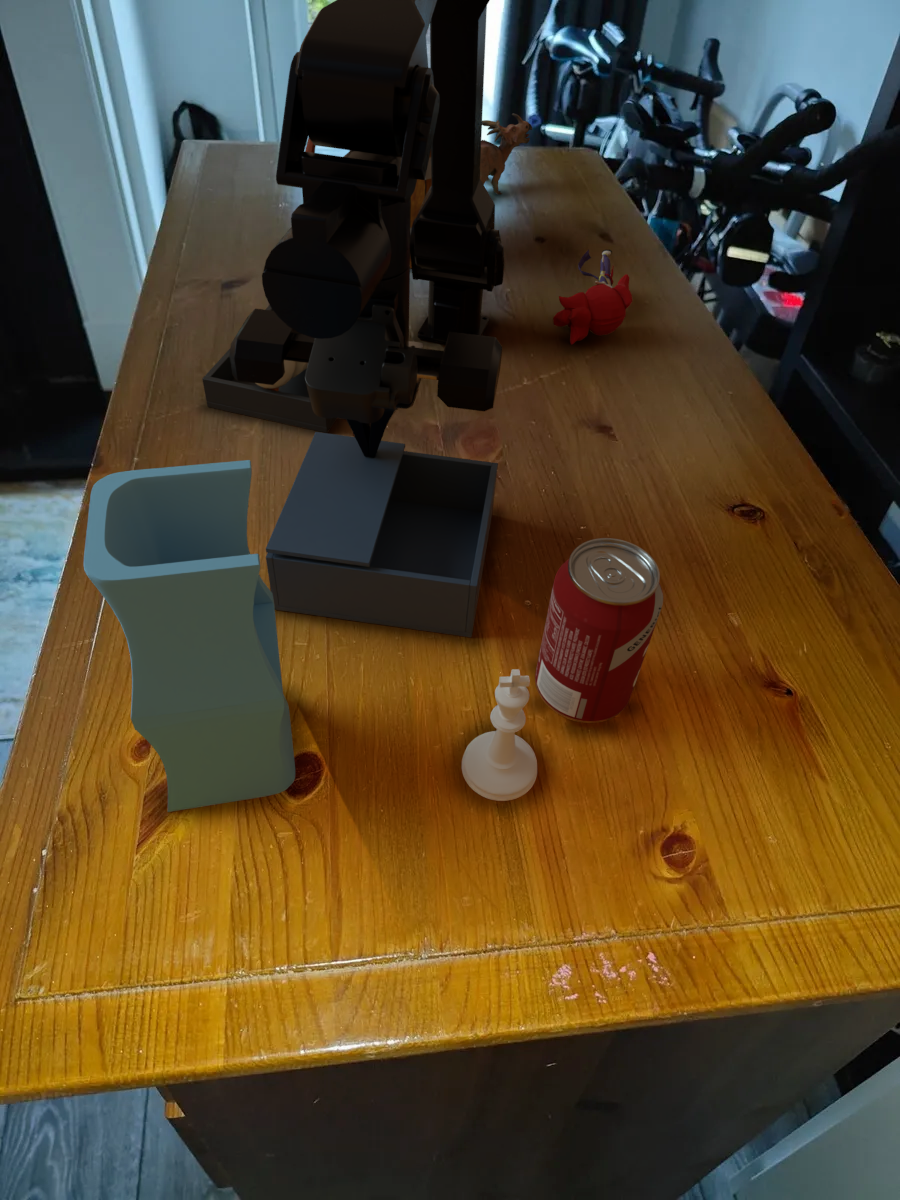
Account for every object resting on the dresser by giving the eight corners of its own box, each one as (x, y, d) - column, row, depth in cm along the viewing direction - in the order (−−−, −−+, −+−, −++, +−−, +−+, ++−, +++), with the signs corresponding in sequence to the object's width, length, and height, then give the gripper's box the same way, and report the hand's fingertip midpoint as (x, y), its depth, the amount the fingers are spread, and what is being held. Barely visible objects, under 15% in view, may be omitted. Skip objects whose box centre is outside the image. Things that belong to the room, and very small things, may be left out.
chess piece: (458, 737, 56) (468, 640, 49) (531, 734, 57) (551, 637, 49) (465, 803, 53) (477, 710, 46) (542, 799, 53) (566, 706, 46)
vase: (297, 791, 53) (261, 565, 38) (167, 812, 51) (78, 586, 37) (287, 691, 58) (252, 458, 43) (168, 708, 57) (91, 473, 42)
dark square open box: (471, 637, 62) (477, 586, 58) (273, 609, 63) (265, 557, 59) (492, 514, 72) (498, 462, 68) (319, 491, 73) (315, 439, 69)
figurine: (635, 287, 99) (632, 354, 89) (563, 293, 101) (552, 359, 91) (634, 233, 95) (631, 297, 85) (559, 240, 97) (547, 304, 87)
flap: (369, 567, 58) (369, 563, 58) (265, 552, 59) (265, 548, 59) (405, 447, 68) (405, 443, 68) (315, 435, 68) (315, 431, 68)
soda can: (567, 743, 56) (599, 624, 48) (515, 670, 60) (537, 549, 51) (648, 707, 59) (693, 588, 50) (593, 640, 63) (626, 519, 54)
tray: (277, 325, 91) (274, 298, 89) (384, 347, 89) (384, 320, 87) (207, 406, 80) (201, 378, 78) (327, 433, 78) (325, 405, 76)
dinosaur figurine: (494, 172, 123) (500, 102, 117) (526, 184, 121) (534, 113, 114) (432, 198, 116) (434, 124, 109) (464, 211, 114) (469, 136, 107)
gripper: (183, 304, 50) (222, 504, 62) (495, 341, 49) (475, 538, 60) (241, 225, 58) (266, 417, 69) (512, 256, 57) (492, 446, 68)
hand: (370, 454), depth 66 cm, fingers closed, pressing on flap
